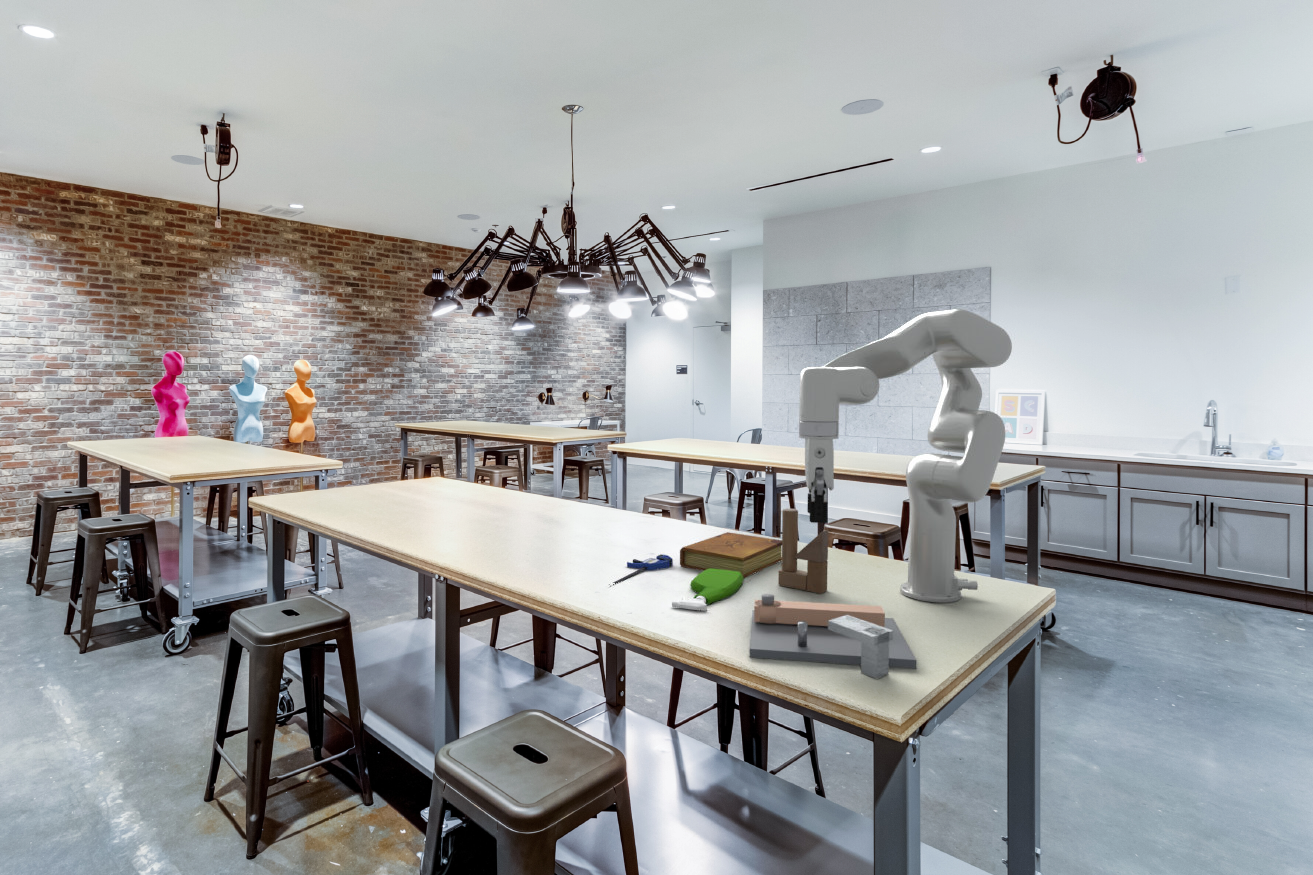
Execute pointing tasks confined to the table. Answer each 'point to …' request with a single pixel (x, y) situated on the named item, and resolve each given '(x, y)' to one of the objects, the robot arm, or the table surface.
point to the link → (812, 612)
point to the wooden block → (802, 557)
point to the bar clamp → (649, 565)
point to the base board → (821, 645)
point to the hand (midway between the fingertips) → (816, 517)
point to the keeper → (865, 632)
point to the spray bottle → (711, 588)
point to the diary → (732, 553)
